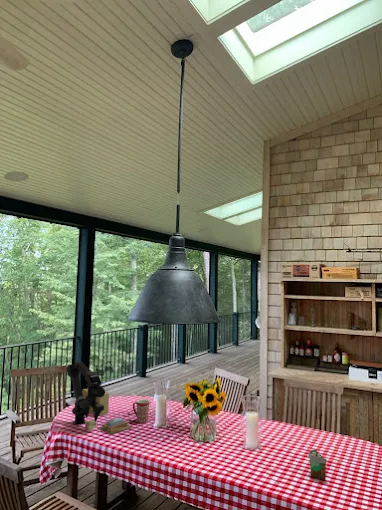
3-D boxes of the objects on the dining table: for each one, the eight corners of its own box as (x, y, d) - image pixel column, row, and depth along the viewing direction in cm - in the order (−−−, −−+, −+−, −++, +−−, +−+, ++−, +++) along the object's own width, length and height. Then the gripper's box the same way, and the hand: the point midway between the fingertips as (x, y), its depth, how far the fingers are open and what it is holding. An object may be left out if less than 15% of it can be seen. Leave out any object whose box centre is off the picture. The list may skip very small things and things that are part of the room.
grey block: (106, 428, 250) (106, 420, 251) (119, 424, 258) (119, 416, 258) (110, 430, 247) (110, 421, 248) (123, 426, 255) (123, 418, 255)
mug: (151, 421, 268) (152, 400, 269) (143, 424, 260) (143, 403, 262) (137, 417, 275) (138, 397, 276) (128, 421, 267) (129, 400, 269)
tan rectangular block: (85, 428, 251) (85, 421, 252) (92, 426, 255) (92, 419, 256) (88, 430, 249) (89, 422, 249) (96, 428, 253) (96, 420, 253)
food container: (304, 469, 200) (304, 448, 201) (316, 469, 200) (316, 448, 201) (314, 481, 188) (313, 459, 188) (326, 481, 188) (326, 459, 189)
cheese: (76, 411, 286) (77, 389, 288) (86, 408, 295) (87, 387, 296) (99, 416, 275) (99, 394, 276) (108, 413, 283) (109, 391, 284)
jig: (97, 429, 251) (97, 424, 251) (117, 423, 263) (117, 418, 263) (111, 434, 242) (112, 429, 242) (131, 428, 254) (131, 423, 254)
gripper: (72, 393, 254) (71, 418, 252) (90, 399, 242) (89, 426, 241) (87, 390, 262) (86, 415, 261) (105, 396, 250) (104, 421, 249)
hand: (90, 419), depth 253 cm, fingers open, 9 cm apart
